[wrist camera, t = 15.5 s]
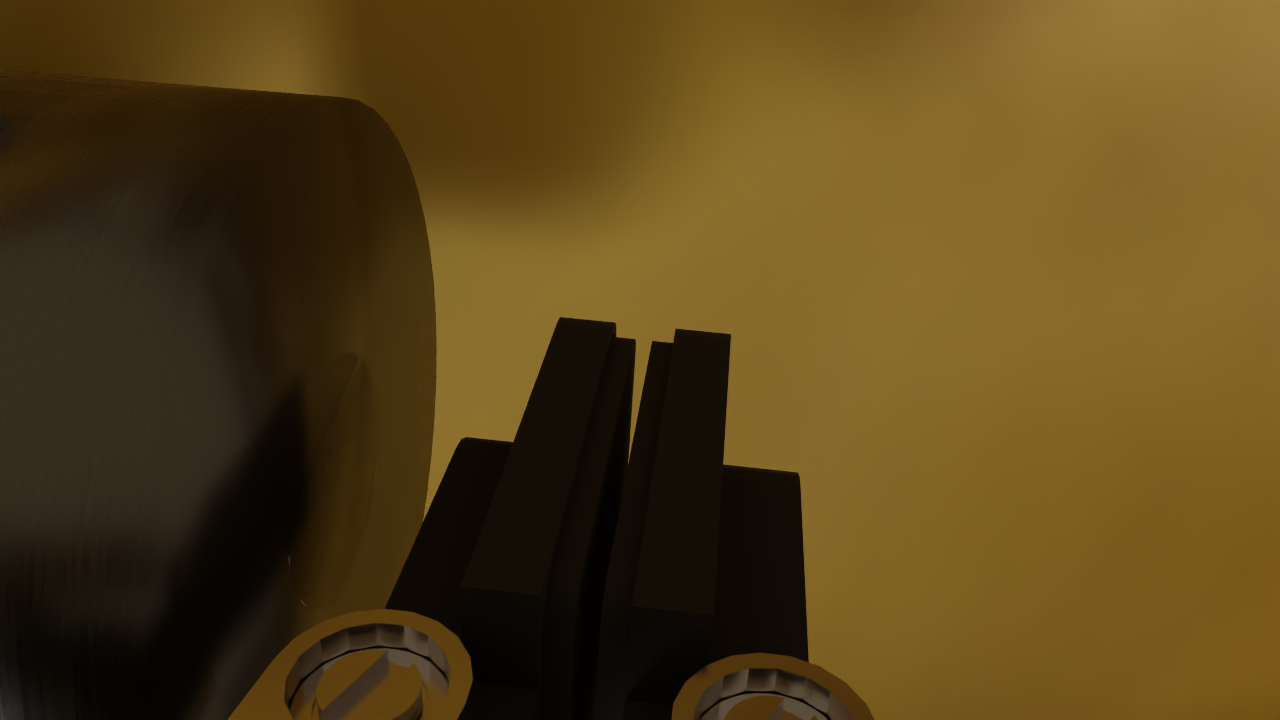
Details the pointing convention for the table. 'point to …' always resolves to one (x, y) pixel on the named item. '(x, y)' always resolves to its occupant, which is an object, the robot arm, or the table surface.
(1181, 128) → the table surface
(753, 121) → the table surface
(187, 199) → the shaft
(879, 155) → the table surface
